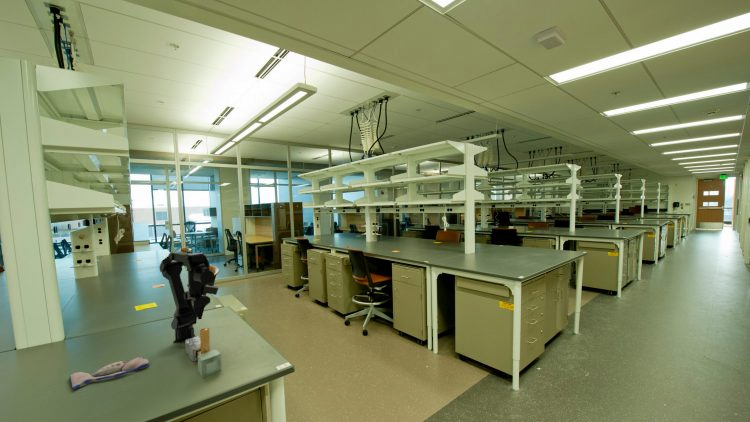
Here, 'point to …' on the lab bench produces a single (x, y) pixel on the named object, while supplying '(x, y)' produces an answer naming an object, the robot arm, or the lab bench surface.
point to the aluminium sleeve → (192, 347)
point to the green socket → (209, 363)
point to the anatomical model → (108, 371)
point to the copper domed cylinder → (204, 342)
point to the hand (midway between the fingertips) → (197, 316)
